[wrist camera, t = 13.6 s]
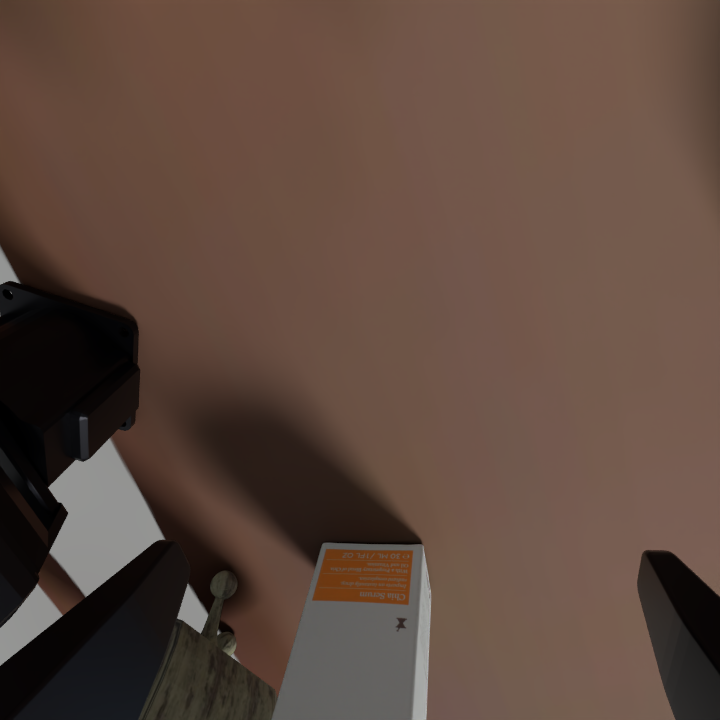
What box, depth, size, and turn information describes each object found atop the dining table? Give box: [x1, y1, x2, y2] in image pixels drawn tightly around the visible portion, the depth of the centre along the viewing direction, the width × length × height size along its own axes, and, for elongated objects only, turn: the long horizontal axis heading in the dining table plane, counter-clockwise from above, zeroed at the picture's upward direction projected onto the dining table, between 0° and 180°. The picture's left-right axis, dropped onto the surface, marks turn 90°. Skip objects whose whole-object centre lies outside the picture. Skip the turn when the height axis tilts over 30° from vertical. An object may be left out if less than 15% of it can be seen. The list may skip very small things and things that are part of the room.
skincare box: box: [272, 543, 431, 720], centre depth 23 cm, size 6×4×12 cm
